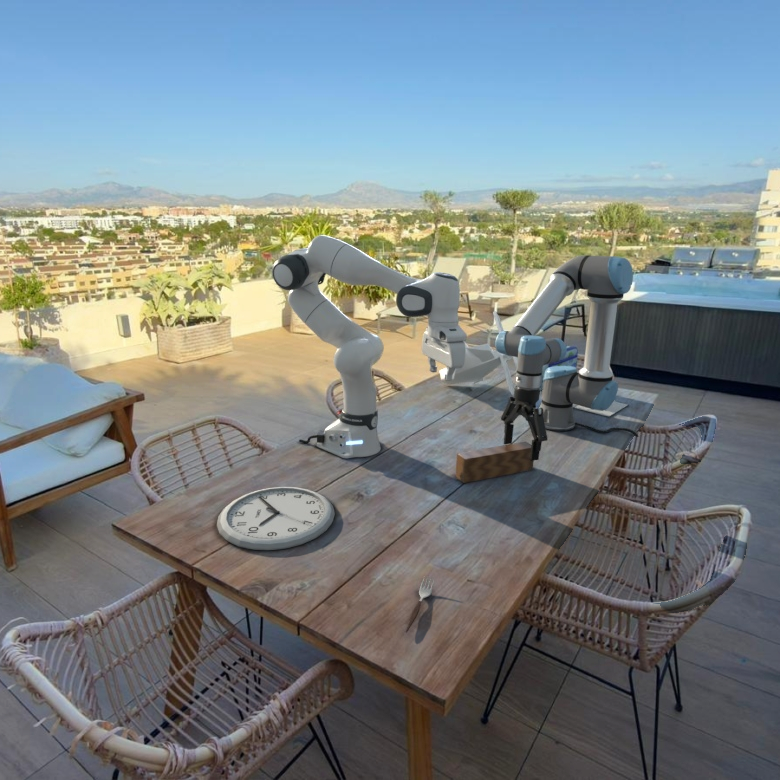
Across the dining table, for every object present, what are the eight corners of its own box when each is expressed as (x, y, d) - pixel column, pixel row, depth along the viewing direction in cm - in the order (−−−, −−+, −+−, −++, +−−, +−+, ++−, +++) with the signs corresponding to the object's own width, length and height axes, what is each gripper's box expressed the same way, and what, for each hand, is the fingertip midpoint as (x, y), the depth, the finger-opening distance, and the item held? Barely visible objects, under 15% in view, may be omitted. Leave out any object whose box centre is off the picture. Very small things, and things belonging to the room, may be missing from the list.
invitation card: (608, 416, 214) (573, 407, 224) (608, 416, 214) (573, 408, 224) (628, 404, 229) (594, 396, 238) (628, 405, 229) (594, 397, 238)
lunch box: (550, 397, 237) (555, 352, 231) (529, 391, 245) (533, 348, 238) (577, 386, 255) (582, 344, 249) (556, 381, 262) (561, 340, 256)
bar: (523, 463, 170) (525, 441, 168) (532, 469, 166) (535, 446, 164) (455, 476, 161) (456, 453, 158) (463, 483, 156) (465, 459, 154)
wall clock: (333, 542, 123) (202, 546, 121) (333, 547, 124) (203, 552, 121) (335, 482, 152) (229, 485, 149) (335, 487, 152) (230, 490, 150)
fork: (399, 632, 98) (399, 624, 98) (423, 581, 112) (424, 573, 112) (412, 636, 97) (413, 627, 97) (435, 584, 112) (435, 576, 111)
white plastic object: (461, 429, 252) (437, 405, 227) (444, 352, 274) (420, 323, 250) (535, 404, 240) (518, 377, 215) (510, 326, 262) (492, 293, 237)
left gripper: (417, 324, 160) (415, 368, 164) (450, 337, 142) (447, 386, 146) (435, 323, 162) (433, 366, 166) (470, 336, 144) (467, 383, 149)
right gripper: (493, 377, 168) (488, 438, 174) (544, 400, 146) (536, 469, 153) (513, 375, 171) (507, 436, 177) (565, 397, 149) (556, 465, 155)
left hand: (440, 375), depth 156 cm, fingers open, 8 cm apart
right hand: (520, 451), depth 165 cm, fingers open, 13 cm apart
